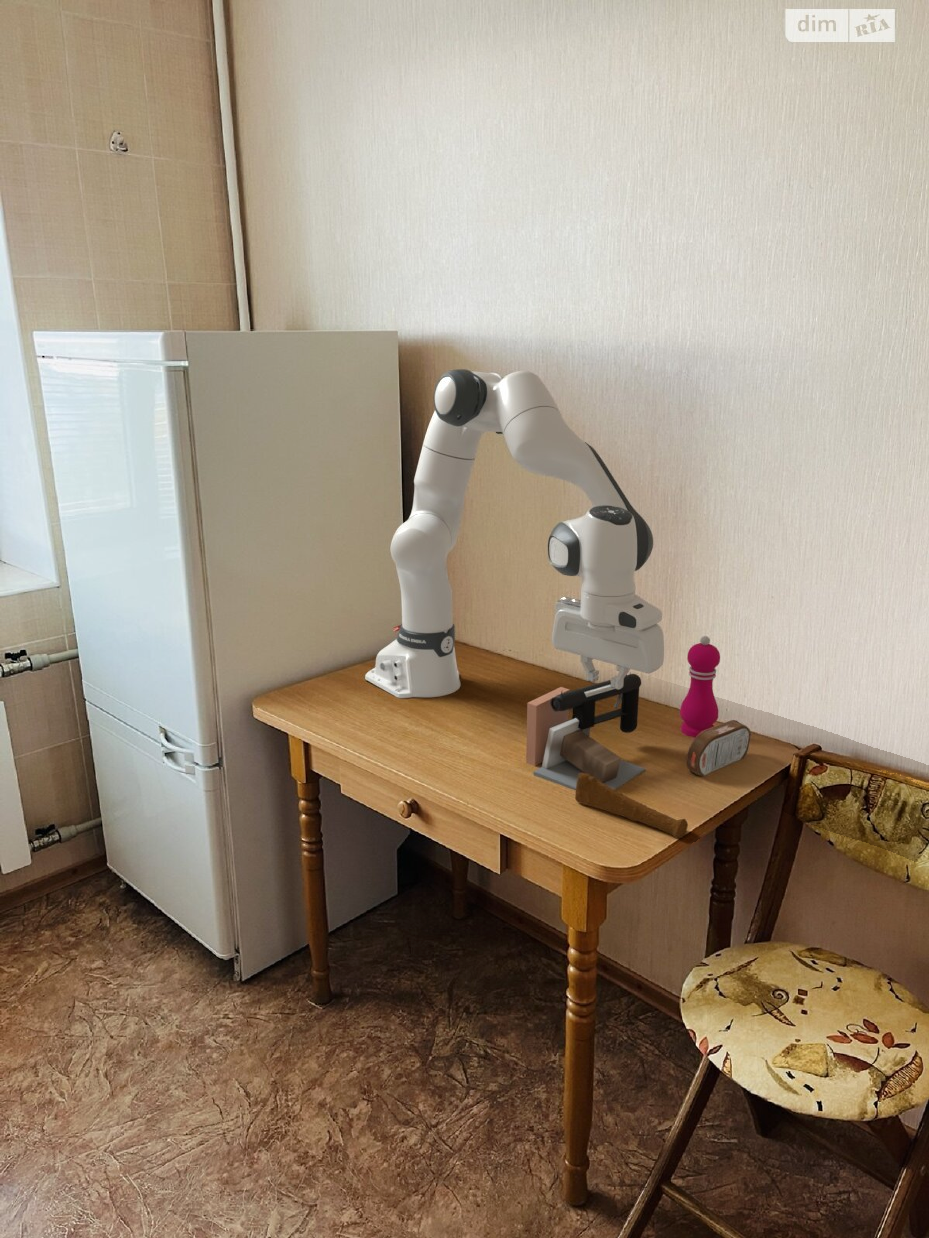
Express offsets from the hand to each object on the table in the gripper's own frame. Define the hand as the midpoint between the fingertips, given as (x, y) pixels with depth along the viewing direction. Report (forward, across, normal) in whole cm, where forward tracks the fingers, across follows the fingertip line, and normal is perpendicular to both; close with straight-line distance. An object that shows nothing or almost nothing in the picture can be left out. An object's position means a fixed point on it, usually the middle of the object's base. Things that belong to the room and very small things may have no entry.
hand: (604, 684), depth 156 cm
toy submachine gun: (+18, -5, +6) cm, 20 cm away
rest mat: (+18, -2, 0) cm, 18 cm away
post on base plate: (+13, -8, 0) cm, 15 cm away
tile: (+18, -12, +1) cm, 22 cm away
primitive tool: (+20, +9, -9) cm, 24 cm away
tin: (+18, +14, +17) cm, 28 cm away
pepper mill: (+18, +4, +28) cm, 33 cm away
